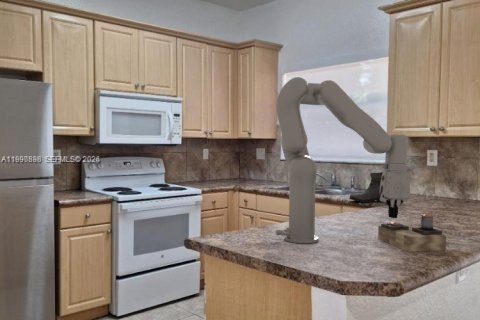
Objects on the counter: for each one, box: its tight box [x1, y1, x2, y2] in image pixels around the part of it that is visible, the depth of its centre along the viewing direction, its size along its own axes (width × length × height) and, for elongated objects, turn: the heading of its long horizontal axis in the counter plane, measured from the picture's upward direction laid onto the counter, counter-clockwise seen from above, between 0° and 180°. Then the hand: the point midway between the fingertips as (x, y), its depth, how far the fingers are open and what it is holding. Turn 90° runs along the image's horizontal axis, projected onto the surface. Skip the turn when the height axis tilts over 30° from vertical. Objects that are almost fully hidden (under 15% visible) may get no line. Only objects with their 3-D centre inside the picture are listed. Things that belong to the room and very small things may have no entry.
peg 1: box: [388, 221, 401, 227], centre depth 158 cm, size 4×4×7 cm
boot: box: [348, 172, 387, 203], centre depth 274 cm, size 10×29×19 cm, turn 101°
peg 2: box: [420, 213, 434, 231], centre depth 151 cm, size 4×4×7 cm
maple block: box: [377, 222, 447, 253], centre depth 155 cm, size 14×20×6 cm
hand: (392, 217), depth 158 cm, fingers closed
